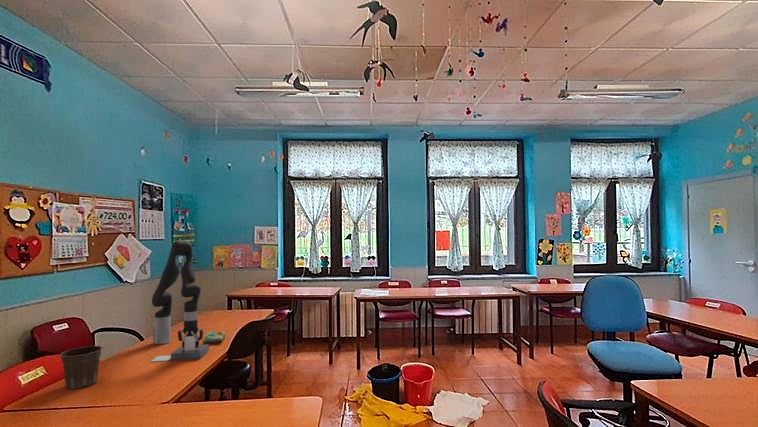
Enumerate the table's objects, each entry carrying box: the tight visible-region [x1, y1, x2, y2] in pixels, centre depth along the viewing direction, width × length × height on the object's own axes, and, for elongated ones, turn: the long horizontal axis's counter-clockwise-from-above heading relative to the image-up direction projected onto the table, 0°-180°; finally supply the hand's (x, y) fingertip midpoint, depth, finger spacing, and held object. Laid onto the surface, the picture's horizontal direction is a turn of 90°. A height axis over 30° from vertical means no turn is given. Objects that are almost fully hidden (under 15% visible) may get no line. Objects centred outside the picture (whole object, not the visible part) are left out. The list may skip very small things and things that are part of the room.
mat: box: [150, 355, 171, 363], centre depth 228 cm, size 9×9×1 cm
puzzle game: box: [202, 330, 227, 344], centre depth 266 cm, size 12×5×20 cm
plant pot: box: [59, 345, 103, 390], centre depth 191 cm, size 16×16×16 cm
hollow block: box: [170, 343, 210, 362], centre depth 234 cm, size 16×16×4 cm
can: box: [184, 336, 197, 351], centre depth 234 cm, size 6×6×12 cm
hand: (190, 347), depth 234 cm, fingers closed on can, 6 cm apart
